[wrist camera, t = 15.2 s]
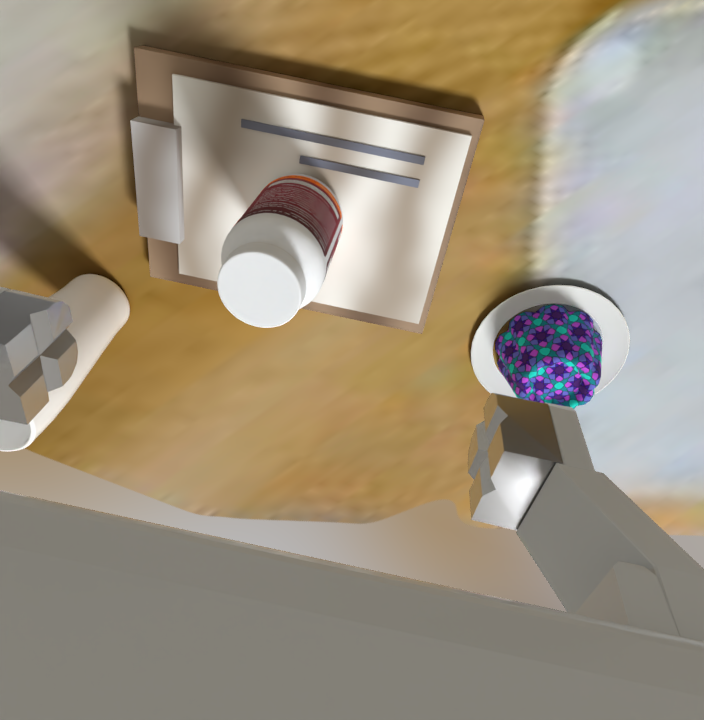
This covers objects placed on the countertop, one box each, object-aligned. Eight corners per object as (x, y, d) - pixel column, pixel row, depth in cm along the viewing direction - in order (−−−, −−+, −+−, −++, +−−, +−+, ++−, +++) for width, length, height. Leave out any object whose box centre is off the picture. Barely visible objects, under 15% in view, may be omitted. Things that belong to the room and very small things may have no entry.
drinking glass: (47, 282, 46) (-94, 393, 34) (101, 249, 43) (-30, 357, 31) (103, 342, 49) (-8, 464, 37) (157, 315, 46) (57, 436, 34)
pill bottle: (248, 175, 36) (187, 239, 27) (338, 166, 35) (304, 231, 26) (268, 259, 40) (219, 340, 31) (349, 254, 39) (323, 337, 30)
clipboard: (483, 115, 34) (485, 124, 32) (422, 325, 43) (421, 342, 41) (142, 45, 34) (124, 49, 32) (156, 269, 43) (143, 283, 41)
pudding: (661, 338, 41) (686, 380, 37) (543, 425, 48) (553, 468, 44) (549, 249, 38) (562, 283, 34) (440, 354, 45) (440, 393, 41)
